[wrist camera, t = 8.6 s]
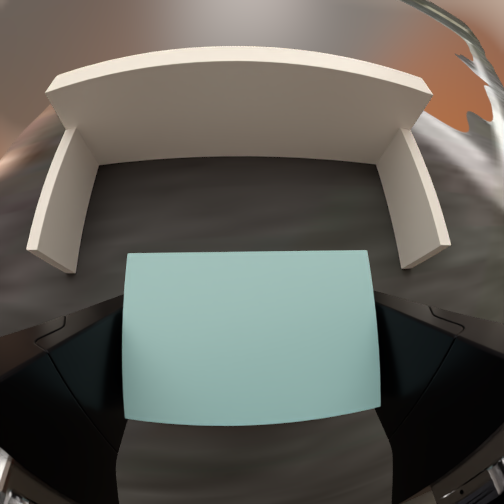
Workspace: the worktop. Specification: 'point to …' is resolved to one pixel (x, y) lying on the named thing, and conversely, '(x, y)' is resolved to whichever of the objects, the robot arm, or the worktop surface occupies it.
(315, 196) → the worktop surface
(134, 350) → the grey teal block
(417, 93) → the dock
